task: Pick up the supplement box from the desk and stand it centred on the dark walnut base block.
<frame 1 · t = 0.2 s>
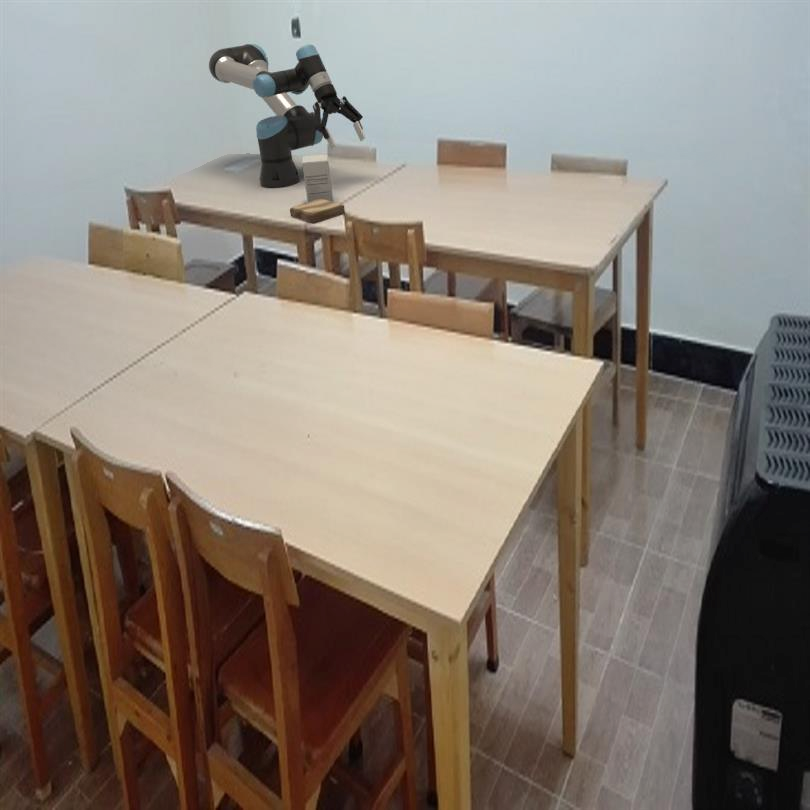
hand: (348, 143, 291), 16 cm above the table, tool tilted 35°, fingers open, 13 cm apart
walnut base: (317, 214, 272), on the table
supplement box: (320, 201, 286), on the table
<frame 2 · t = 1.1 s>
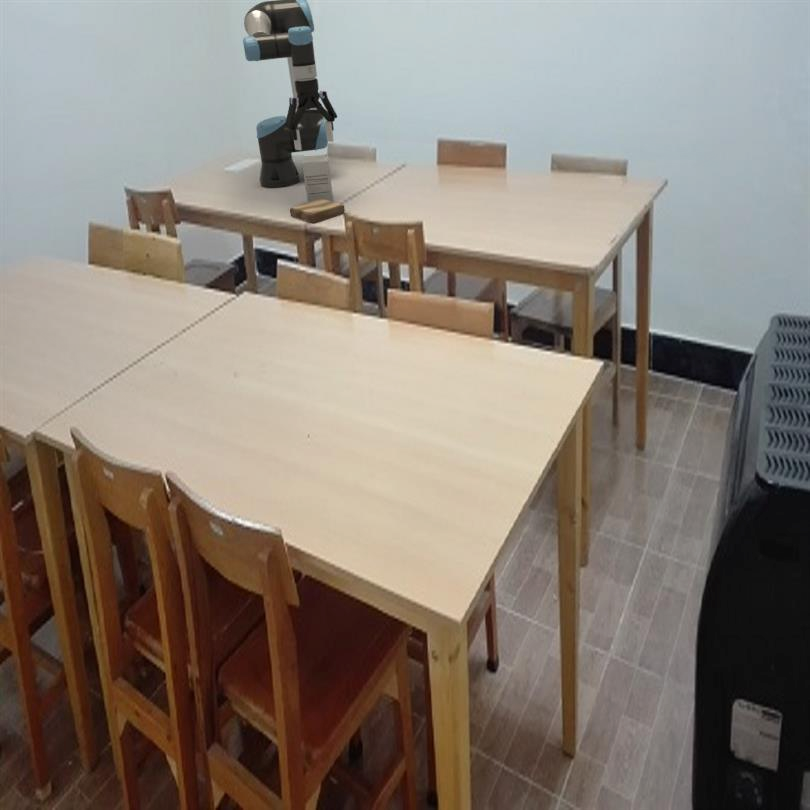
hand: (314, 145, 277), 19 cm above the table, tool pointing down, fingers open, 13 cm apart
nothing on the table moved.
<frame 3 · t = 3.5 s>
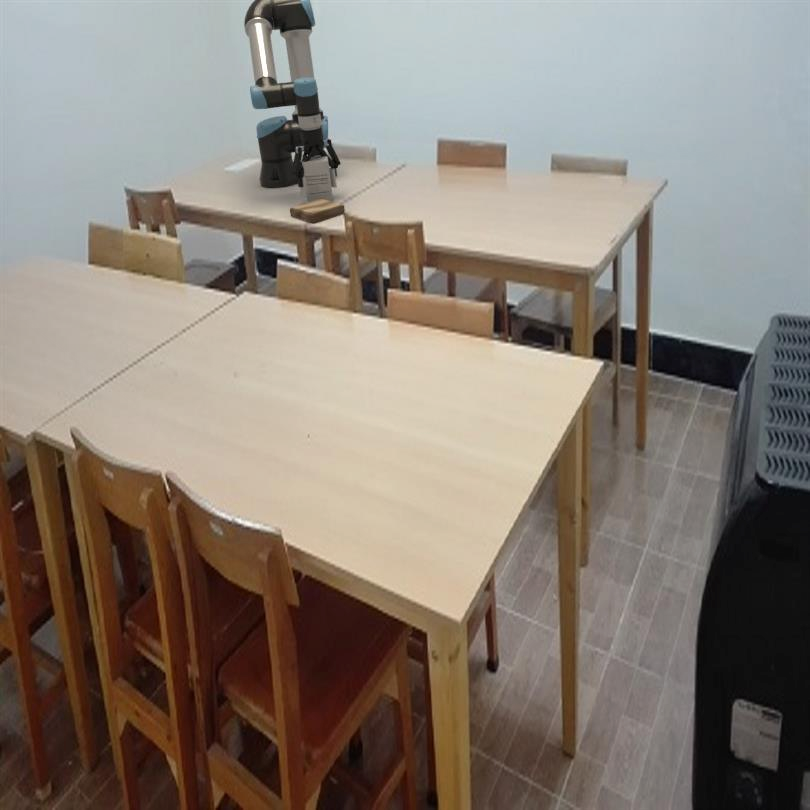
hand: (319, 191, 284), 3 cm above the table, tool pointing down, fingers closed on supplement box, 12 cm apart
supplement box: (320, 201, 286), on the table, touching gripper
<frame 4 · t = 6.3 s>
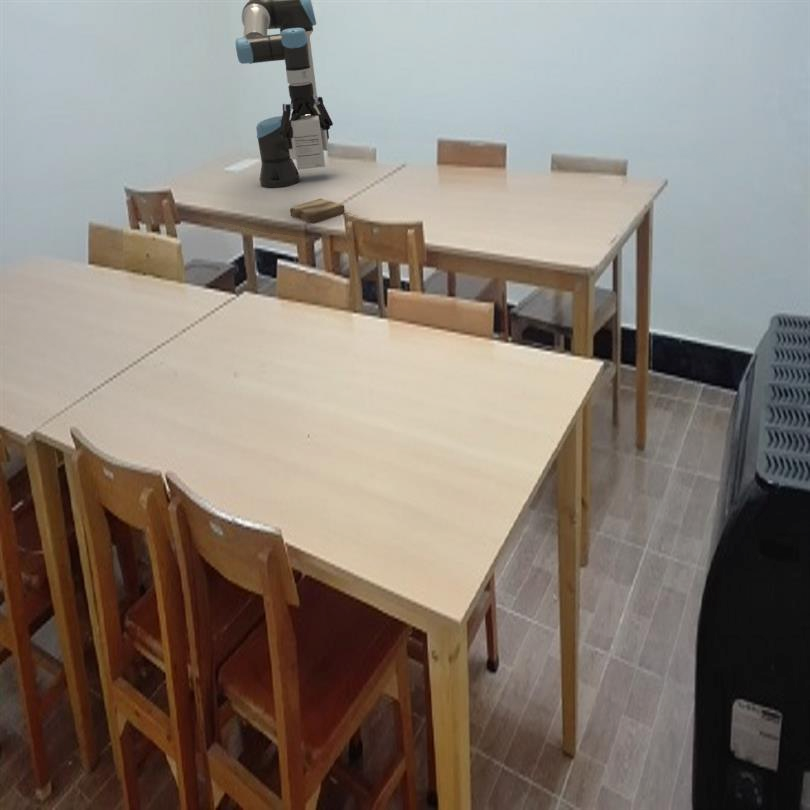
hand: (309, 154, 262), 20 cm above the table, tool pointing down, fingers closed on supplement box, 12 cm apart
supplement box: (311, 165, 264), point 16 cm above the table, touching gripper
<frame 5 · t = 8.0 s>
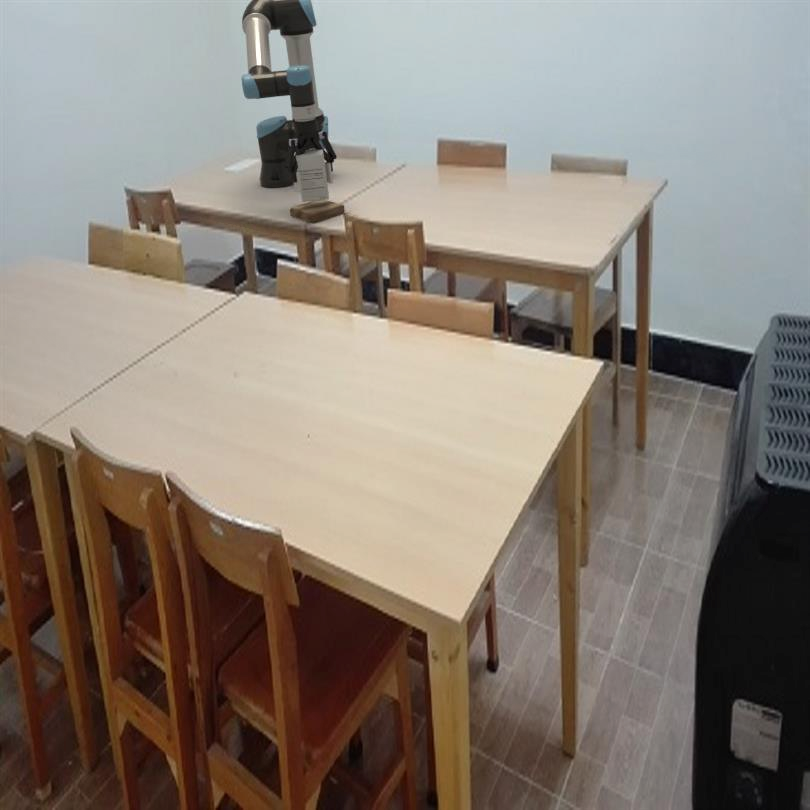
hand: (314, 187, 268), 9 cm above the table, tool pointing down, fingers closed on supplement box, 12 cm apart
supplement box: (315, 198, 269), point 6 cm above the table, touching gripper
when the fingers open (8 cm above the table, at t = 9.4 s): supplement box drops 1 cm, resting on walnut base.
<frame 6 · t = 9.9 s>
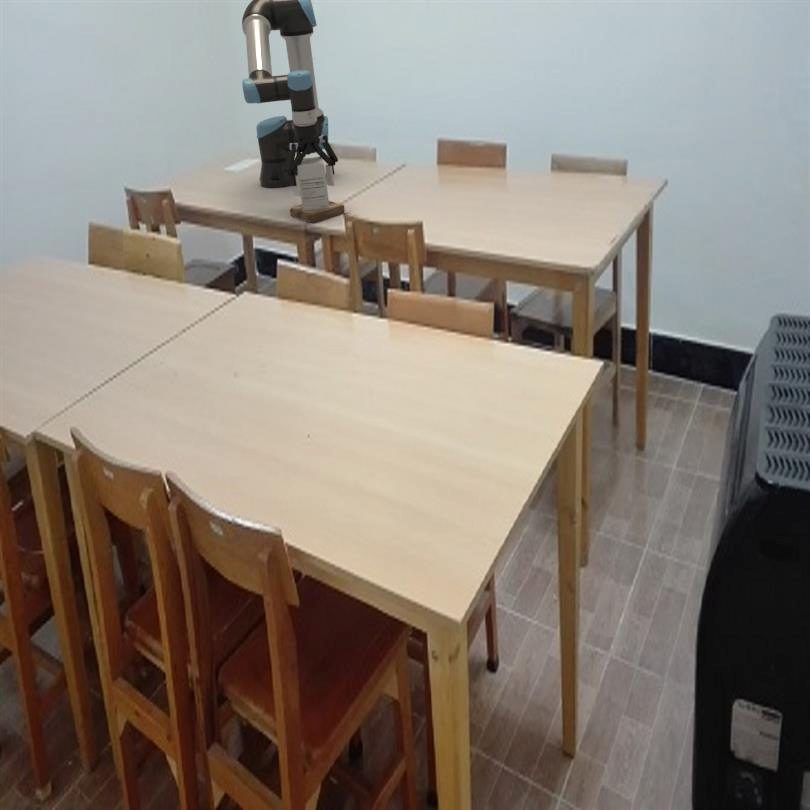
hand: (314, 190, 268), 8 cm above the table, tool pointing down, fingers open, 13 cm apart
supplement box: (315, 206, 271), point 3 cm above the table, touching walnut base
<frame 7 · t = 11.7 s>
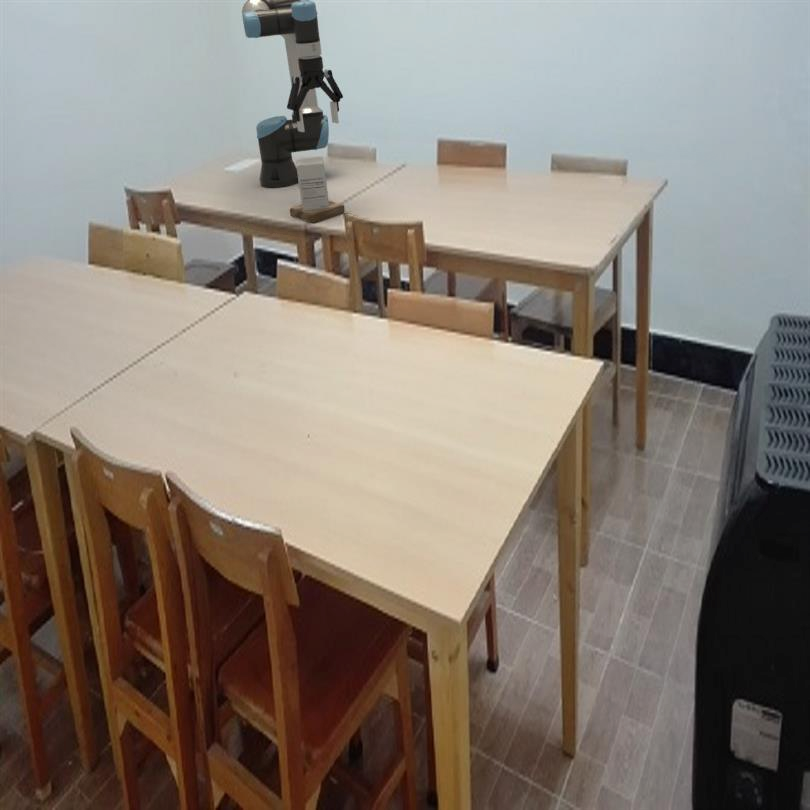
hand: (318, 127, 264), 27 cm above the table, tool pointing down, fingers open, 13 cm apart
nothing on the table moved.
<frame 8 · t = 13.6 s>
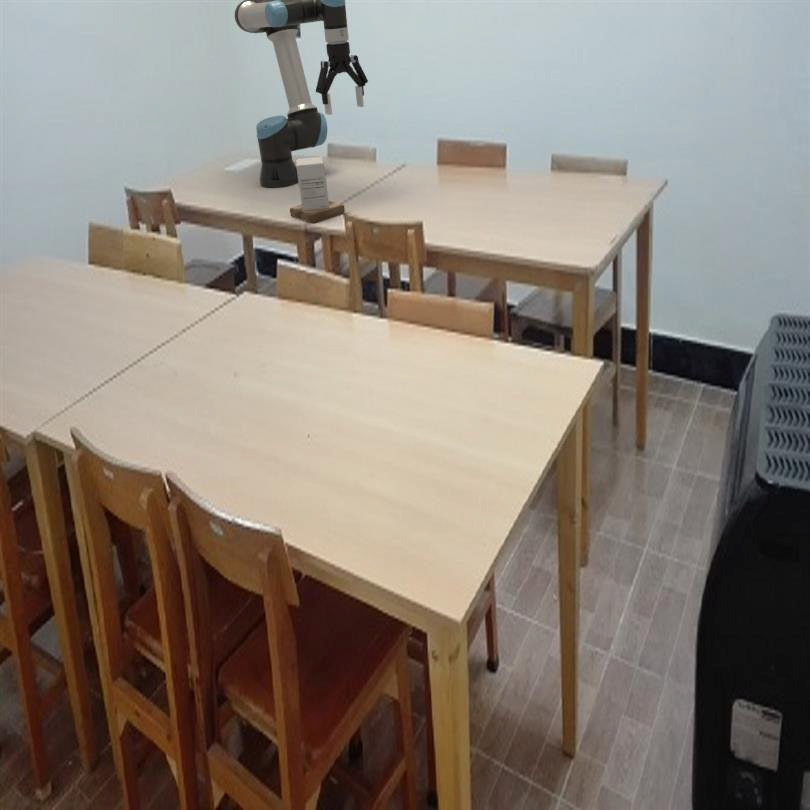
hand: (344, 110, 275), 29 cm above the table, tool pointing down, fingers open, 13 cm apart
nothing on the table moved.
at the end: supplement box inside the target area on the walnut base (0.3 cm from its centre), point 2.8 cm above the walnut base's base; supplement box tilted 0°; the gripper is holding nothing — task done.
